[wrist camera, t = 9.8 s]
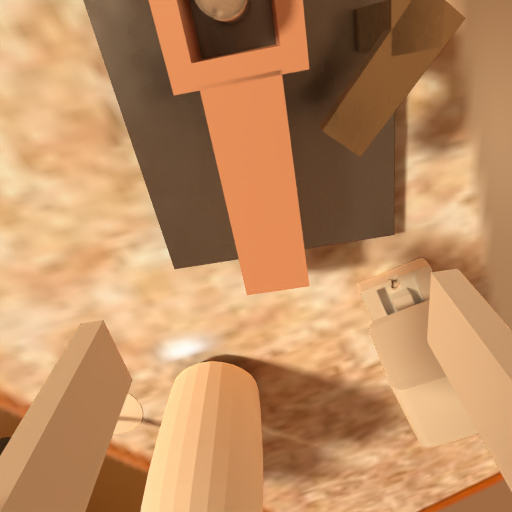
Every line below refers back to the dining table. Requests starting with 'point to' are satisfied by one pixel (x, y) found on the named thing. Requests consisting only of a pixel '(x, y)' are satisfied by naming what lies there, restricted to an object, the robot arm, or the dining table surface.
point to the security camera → (413, 354)
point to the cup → (208, 444)
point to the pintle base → (297, 104)
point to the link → (248, 136)
